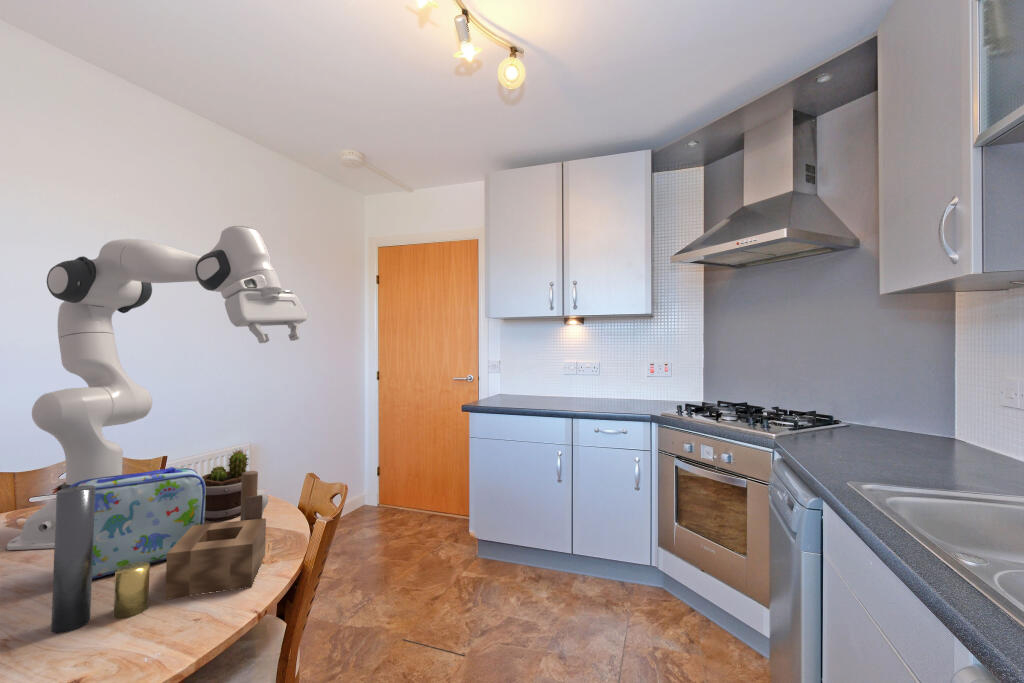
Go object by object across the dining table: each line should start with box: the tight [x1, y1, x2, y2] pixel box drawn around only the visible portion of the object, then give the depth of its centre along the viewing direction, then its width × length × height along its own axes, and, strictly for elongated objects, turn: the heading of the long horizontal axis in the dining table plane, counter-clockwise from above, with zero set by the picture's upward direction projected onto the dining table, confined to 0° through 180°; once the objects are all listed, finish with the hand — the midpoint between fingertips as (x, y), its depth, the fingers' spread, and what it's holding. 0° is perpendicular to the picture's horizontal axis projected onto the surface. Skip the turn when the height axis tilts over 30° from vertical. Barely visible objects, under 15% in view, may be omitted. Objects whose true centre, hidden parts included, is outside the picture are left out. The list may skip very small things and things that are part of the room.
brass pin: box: [113, 562, 151, 619], centre depth 84 cm, size 5×5×8 cm
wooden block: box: [239, 470, 263, 521], centre depth 112 cm, size 4×11×18 cm, turn 38°
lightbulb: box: [257, 488, 269, 515], centre depth 123 cm, size 6×6×11 cm
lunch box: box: [69, 466, 206, 580], centre depth 104 cm, size 26×11×21 cm, turn 137°
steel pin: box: [50, 485, 95, 635], centre depth 80 cm, size 5×5×24 cm
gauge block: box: [164, 518, 267, 600], centre depth 98 cm, size 15×15×9 cm
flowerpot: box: [201, 447, 250, 522], centre depth 134 cm, size 14×15×20 cm
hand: (280, 341), depth 108 cm, fingers open, 8 cm apart
